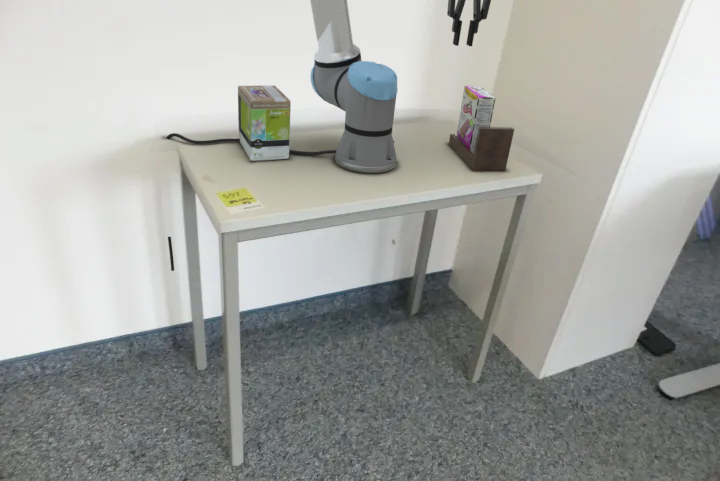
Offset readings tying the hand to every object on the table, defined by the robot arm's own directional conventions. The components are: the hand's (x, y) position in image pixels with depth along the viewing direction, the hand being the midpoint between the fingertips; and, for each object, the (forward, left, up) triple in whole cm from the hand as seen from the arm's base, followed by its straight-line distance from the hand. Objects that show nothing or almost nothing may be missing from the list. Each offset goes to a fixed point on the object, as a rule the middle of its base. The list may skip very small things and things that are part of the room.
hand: (462, 44), depth 157 cm
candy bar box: (0, -18, -25) cm, 31 cm away
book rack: (0, -22, -25) cm, 33 cm away
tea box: (-56, -19, -25) cm, 64 cm away
